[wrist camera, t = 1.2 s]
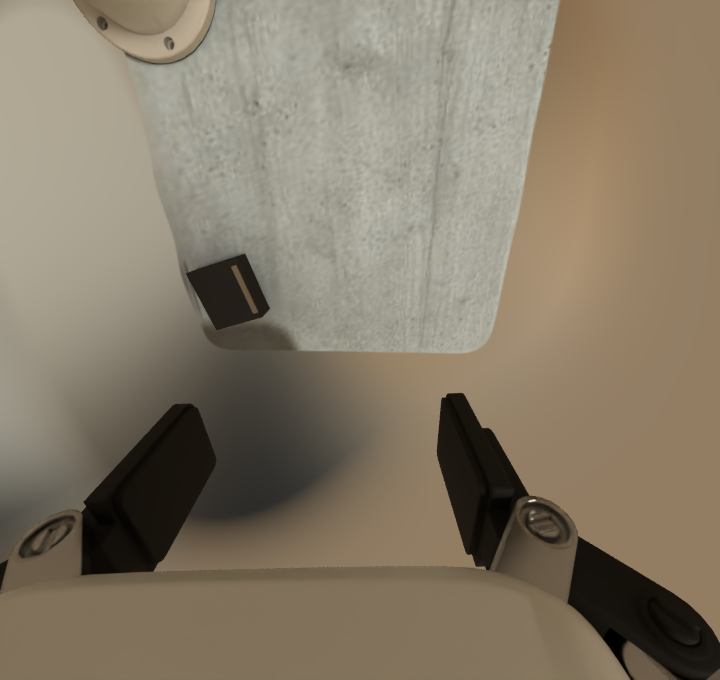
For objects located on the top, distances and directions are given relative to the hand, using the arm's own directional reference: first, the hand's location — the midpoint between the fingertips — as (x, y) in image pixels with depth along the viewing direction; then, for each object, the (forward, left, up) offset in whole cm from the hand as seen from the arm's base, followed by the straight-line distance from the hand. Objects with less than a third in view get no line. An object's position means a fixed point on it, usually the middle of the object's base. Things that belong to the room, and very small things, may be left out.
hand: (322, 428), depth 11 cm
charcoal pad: (-2, -14, -26) cm, 30 cm away
